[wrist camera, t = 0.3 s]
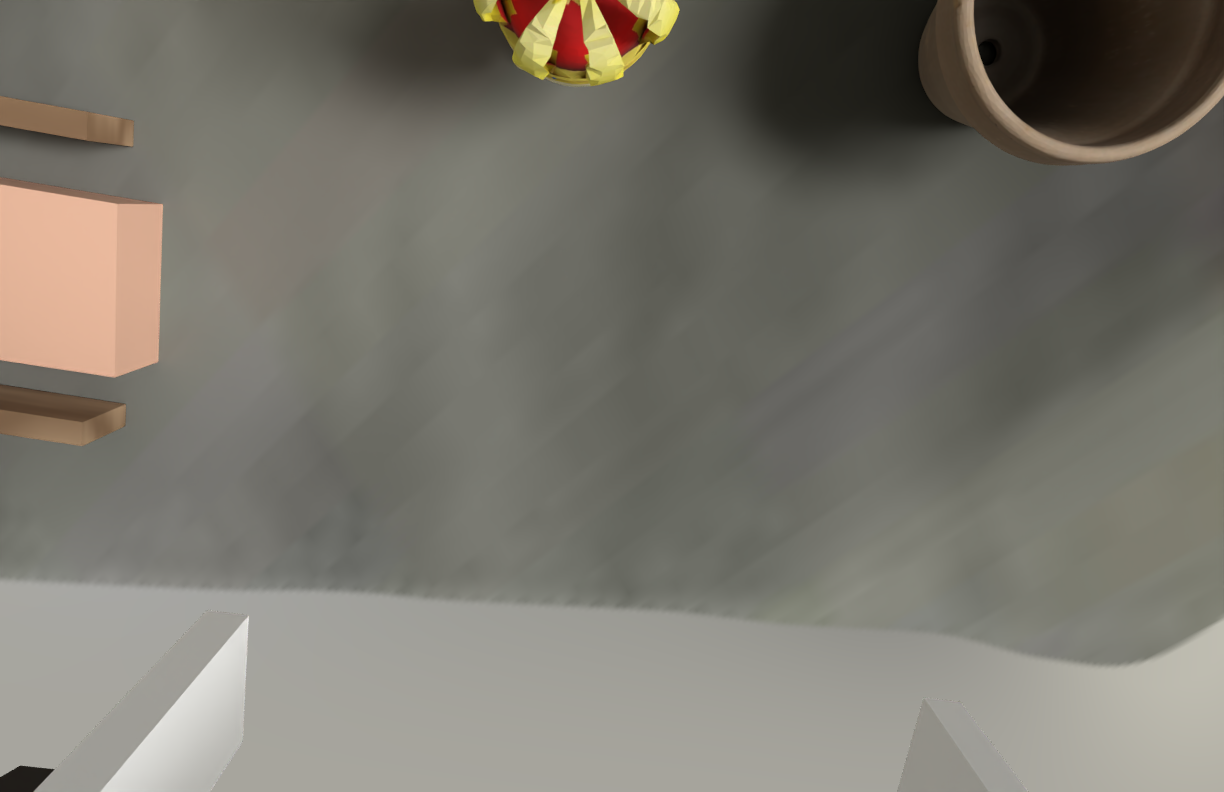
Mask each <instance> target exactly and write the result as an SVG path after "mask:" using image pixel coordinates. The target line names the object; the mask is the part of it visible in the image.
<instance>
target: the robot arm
mask: <svg viewBox="0 0 1224 792" xmlns="http://www.w3.org/2000/svg"><path fill="white" fill-rule="evenodd" d="M248 623H249V615H243V614H235V613H226V612H218V611H210V610H207V611H206V612H205V613H204V614H203V615H202V616H201V617H200V618H199V619H198V620H197V621H196V622H195V623H194V624H193V626H191V628H190V629H189V630H188V631H187V632H186V633H185V634H184V635H183V636H182V637H181V638H180V639H179V640H178V641H177V642H176V643H175V644H174V645H173V646H172V647H171V648H170V650H169V651H168V652H167V653H166V654H165V655H164V656H163V657H162V658H161V659H160V660H159V661H158V662H157V663H156V664H155V665H154V666H153V667H152V668H151V669H150V670H149V671H148V672H147V674H146V675H145V676H144V677H143V678H142V679H141V680H140V681H139V682H138V683H137V684H136V685H135V686H134V687H133V688H132V689H131V690H130V691H129V692H128V693H127V694H126V696H125V697H124V698H123V699H122V700H121V701H120V702H119V703H118V704H117V705H116V706H115V707H114V708H113V709H112V710H111V711H110V712H109V713H108V714H107V715H106V716H105V717H104V719H103V720H102V721H101V722H100V723H99V724H98V725H97V726H96V727H95V728H94V729H93V730H92V731H91V732H90V733H89V734H88V735H87V736H86V737H85V738H84V739H83V740H82V741H81V743H80V744H79V745H78V746H77V747H76V748H75V749H74V750H73V751H72V752H71V753H70V754H69V755H68V756H67V757H66V758H65V759H64V760H63V761H62V762H61V764H59V766H58V767H57V768H56V769H46V768H37V767H28V766H19V767H17V768H16V769H14V770H12V771H10V772H9V773H7V774H5V775H3V776H2V777H0V792H210V791H211V789H212V788H213V786H214V785H215V783H216V782H217V780H218V779H219V777H220V776H221V774H222V773H223V771H224V769H225V768H226V766H227V765H228V763H229V762H230V760H231V759H232V757H233V756H234V754H235V752H236V751H237V749H238V748H239V746H240V745H241V743H242V742H243V724H244V704H245V683H246V663H247V642H248ZM897 792H1029V791H1028V790H1027V789H1026V788H1025V786H1024V785H1023V783H1022V782H1021V781H1020V780H1019V778H1018V777H1017V776H1016V774H1015V773H1014V772H1013V770H1012V769H1011V768H1010V767H1009V765H1008V764H1007V762H1006V761H1005V760H1004V758H1003V757H1002V756H1001V754H1000V753H999V752H998V750H997V749H996V748H995V747H994V745H993V744H992V742H991V741H990V740H989V738H988V737H987V736H986V735H985V733H984V732H983V731H982V729H981V728H980V727H979V725H978V724H977V723H976V721H975V720H974V719H973V717H972V716H971V715H970V713H969V712H968V711H967V709H966V708H965V707H964V705H963V704H962V703H961V702H959V701H951V700H943V699H934V698H926V697H924V698H923V701H922V705H921V709H920V712H919V716H918V719H917V723H916V726H915V730H914V733H913V737H912V740H911V744H910V748H909V751H908V755H907V758H906V762H905V765H904V769H903V772H902V776H901V779H900V783H899V786H898V790H897Z"/></svg>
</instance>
